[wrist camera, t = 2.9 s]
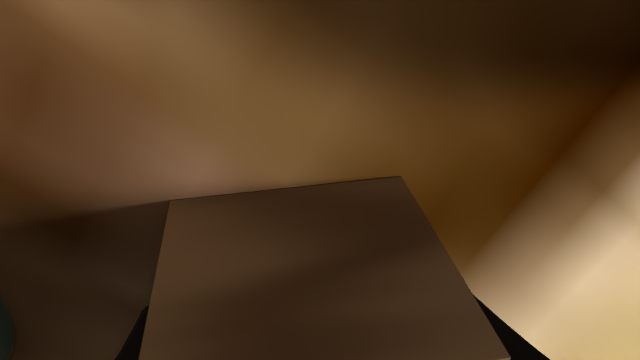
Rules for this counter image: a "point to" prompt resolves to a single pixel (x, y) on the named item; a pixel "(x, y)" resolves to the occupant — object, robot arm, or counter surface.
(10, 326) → the teal capsule
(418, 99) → the counter surface
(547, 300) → the counter surface
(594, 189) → the counter surface
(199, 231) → the walnut cube
